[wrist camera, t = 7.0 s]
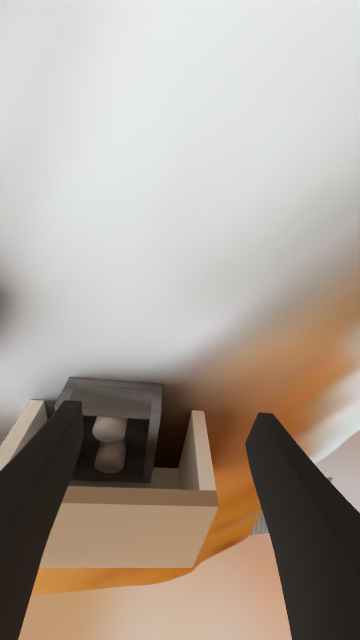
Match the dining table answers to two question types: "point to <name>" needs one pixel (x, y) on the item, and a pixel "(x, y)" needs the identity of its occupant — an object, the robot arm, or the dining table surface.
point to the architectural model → (261, 524)
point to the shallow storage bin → (129, 508)
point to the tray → (117, 407)
